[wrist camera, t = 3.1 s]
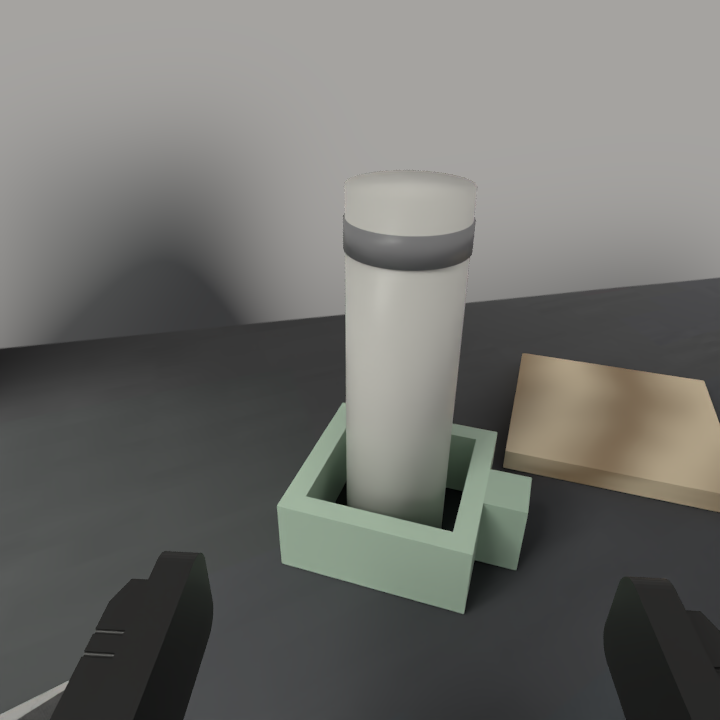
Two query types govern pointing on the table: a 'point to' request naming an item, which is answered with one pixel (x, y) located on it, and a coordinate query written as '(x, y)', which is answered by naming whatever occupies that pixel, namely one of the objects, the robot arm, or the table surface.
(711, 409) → the oak pad
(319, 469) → the collar
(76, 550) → the table surface
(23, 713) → the pliers
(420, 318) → the thermos bottle
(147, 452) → the table surface
